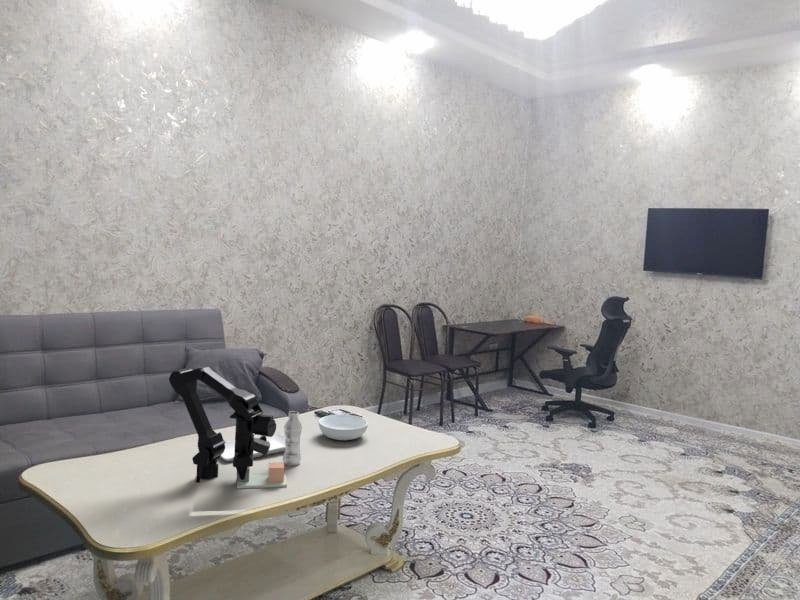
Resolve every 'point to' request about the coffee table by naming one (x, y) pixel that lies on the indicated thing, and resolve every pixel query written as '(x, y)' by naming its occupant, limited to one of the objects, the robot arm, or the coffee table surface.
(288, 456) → the plastic bottle
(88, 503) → the coffee table surface
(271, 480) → the terracotta block
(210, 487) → the coffee table surface
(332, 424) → the serving bowl
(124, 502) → the coffee table surface
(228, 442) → the tray
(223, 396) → the robot arm
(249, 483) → the pale green platform
